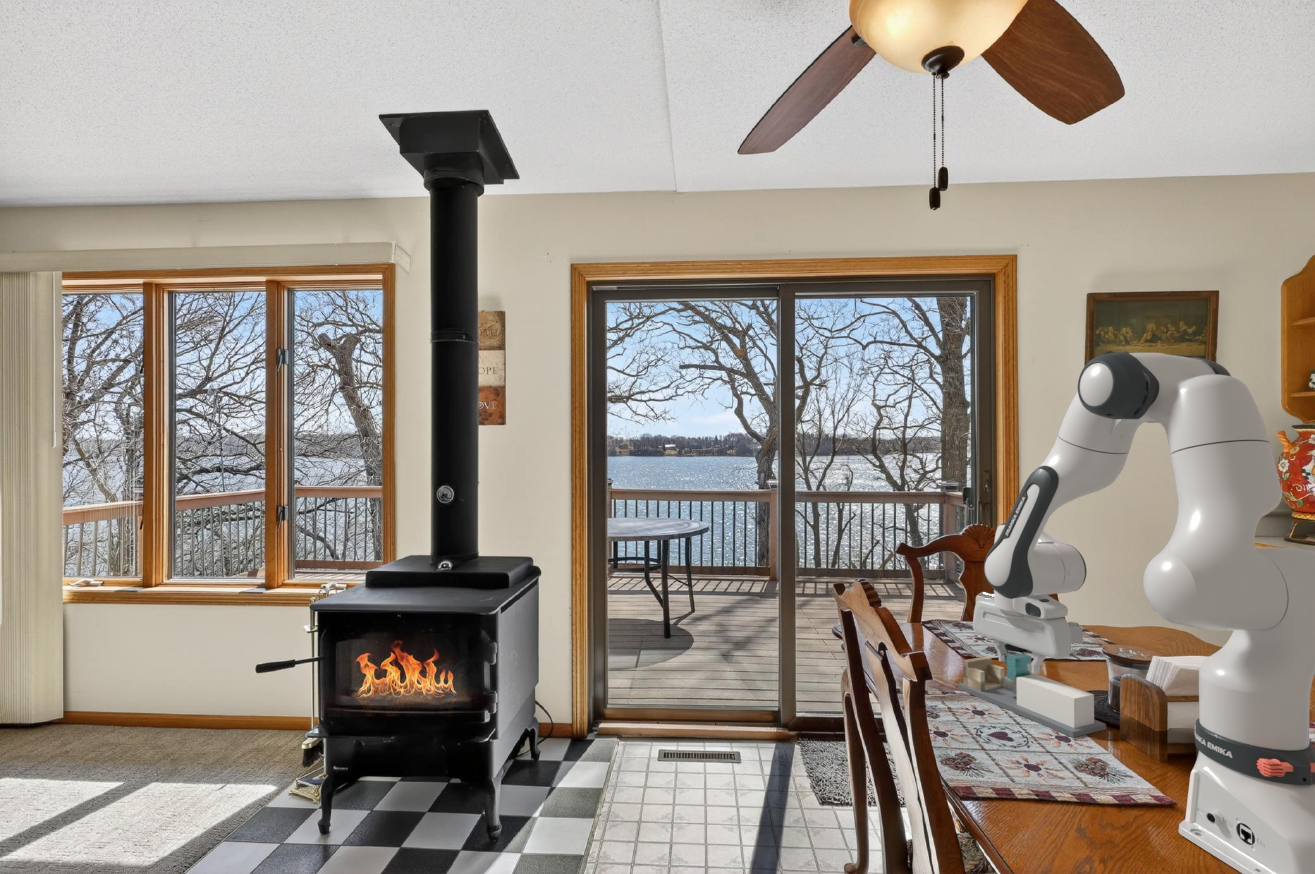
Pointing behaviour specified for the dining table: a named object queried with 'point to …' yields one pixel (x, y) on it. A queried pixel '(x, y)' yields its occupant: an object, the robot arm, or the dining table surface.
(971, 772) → the dining table surface
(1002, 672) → the socket block
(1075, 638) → the lighter
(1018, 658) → the slip tube
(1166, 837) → the dining table surface
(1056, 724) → the tube stand
